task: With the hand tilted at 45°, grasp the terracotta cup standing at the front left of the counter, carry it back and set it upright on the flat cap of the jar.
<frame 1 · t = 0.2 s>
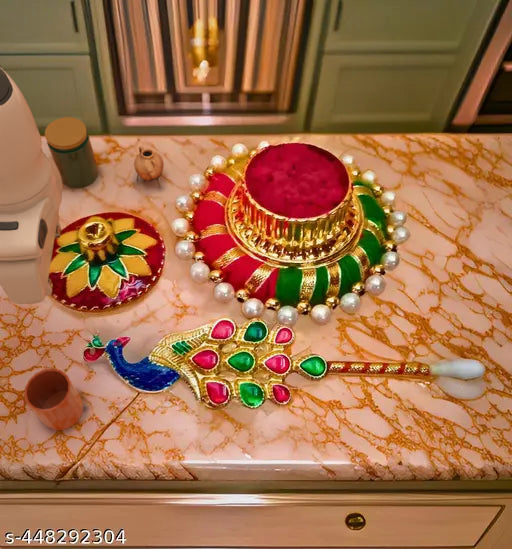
hand: (50, 261, 79), 26 cm above the worktop, tool pointing down, fingers open, 8 cm apart
jar: (79, 173, 121), on the worktop
cup: (62, 409, 94), on the worktop
pot: (151, 179, 121), on the worktop
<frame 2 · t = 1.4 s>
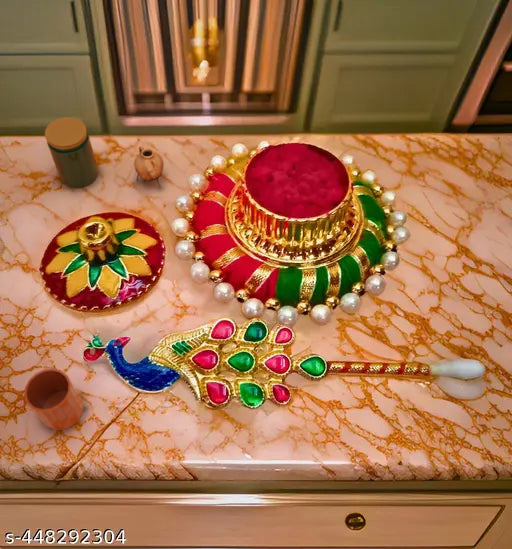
nothing on the worktop moved.
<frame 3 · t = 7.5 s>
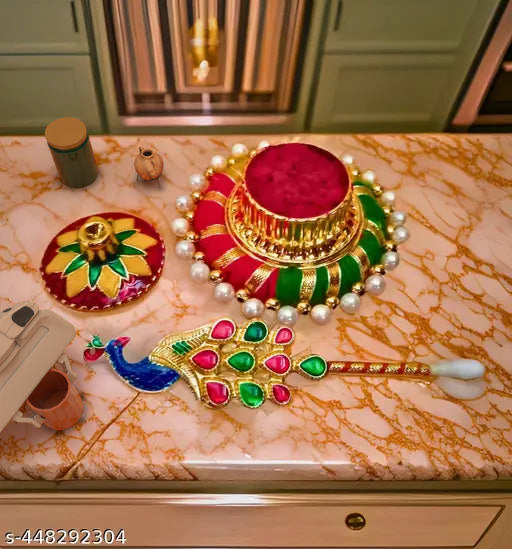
hand: (58, 400, 89), 5 cm above the worktop, tool tilted 45°, fingers closed on cup, 7 cm apart
cup: (62, 410, 94), on the worktop, touching gripper
everything else where it was.
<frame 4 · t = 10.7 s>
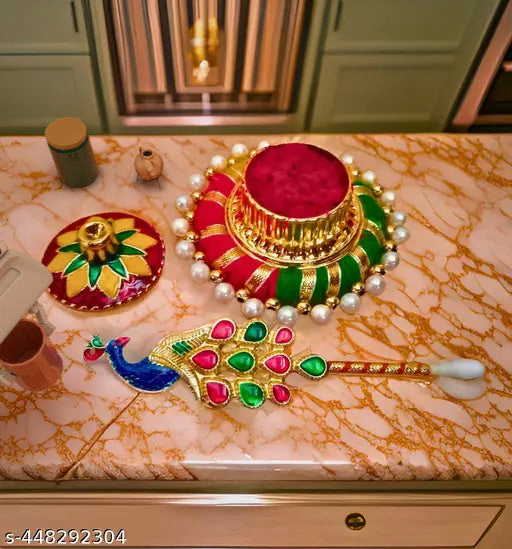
hand: (32, 356, 77), 20 cm above the worktop, tool tilted 45°, fingers closed on cup, 7 cm apart
cup: (39, 369, 81), point 15 cm above the worktop, touching gripper
everything else where it was.
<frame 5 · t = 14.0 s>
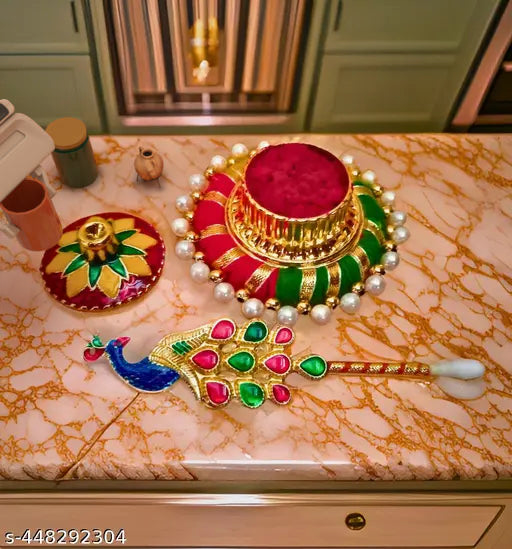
hand: (34, 215, 85), 24 cm above the worktop, tool tilted 45°, fingers closed on cup, 7 cm apart
cup: (40, 233, 89), point 19 cm above the worktop, touching gripper
everything else where it was.
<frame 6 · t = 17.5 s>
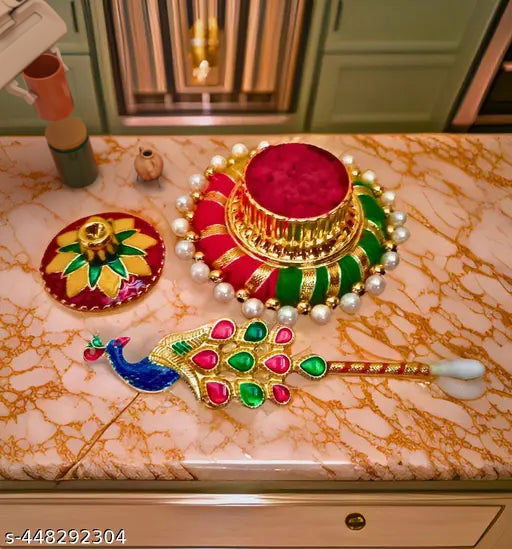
hand: (50, 87, 99), 25 cm above the worktop, tool tilted 45°, fingers closed on cup, 7 cm apart
cup: (55, 108, 103), point 20 cm above the worktop, touching gripper
everything else where it was.
when the fingers open (17 cm above the worktop, at t = 20.5 s): cup stays where it is, resting on jar.
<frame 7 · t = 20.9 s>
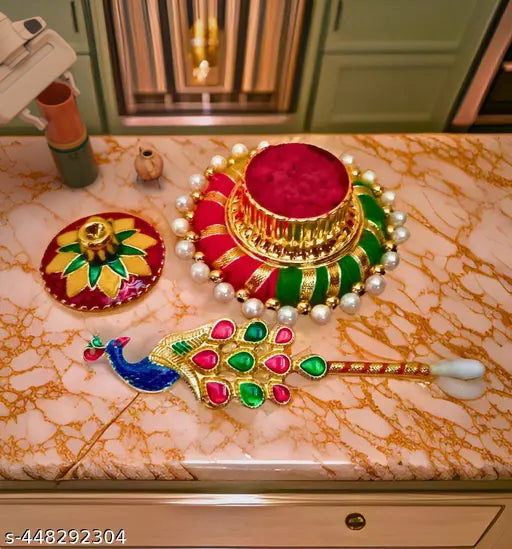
hand: (61, 111, 107), 17 cm above the worktop, tool tilted 45°, fingers open, 8 cm apart
cup: (65, 131, 111), point 12 cm above the worktop, touching jar
everything else where it was.
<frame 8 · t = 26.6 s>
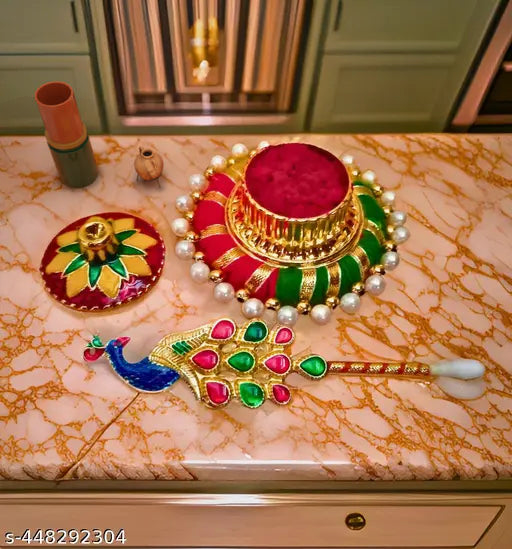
nothing on the worktop moved.
at the end: cup 0.1 cm off-centre on the jar, point 12.0 cm above the jar's base; cup tilted 0° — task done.
